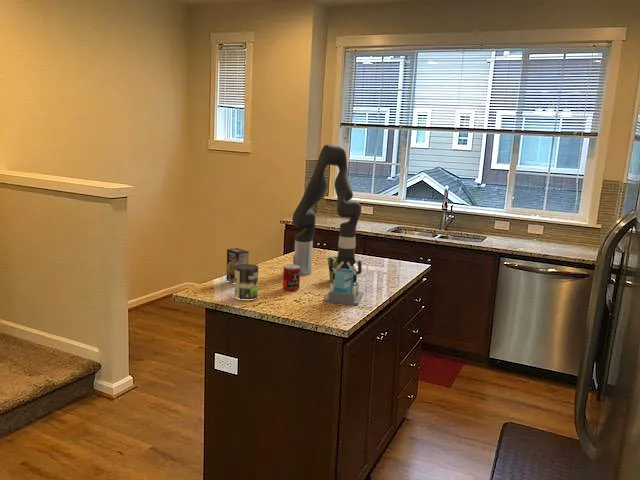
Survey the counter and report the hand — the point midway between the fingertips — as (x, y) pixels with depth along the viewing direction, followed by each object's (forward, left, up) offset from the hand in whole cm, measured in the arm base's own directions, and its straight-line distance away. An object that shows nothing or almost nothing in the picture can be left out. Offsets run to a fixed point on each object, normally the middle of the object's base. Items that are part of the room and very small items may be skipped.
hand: (344, 281), depth 248 cm
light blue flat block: (0, 0, -7) cm, 7 cm away
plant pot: (-8, +29, -8) cm, 31 cm away
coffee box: (-53, +7, -8) cm, 54 cm away
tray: (0, 0, -8) cm, 8 cm away
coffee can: (-41, -15, -8) cm, 44 cm away
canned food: (-26, +6, -8) cm, 28 cm away
